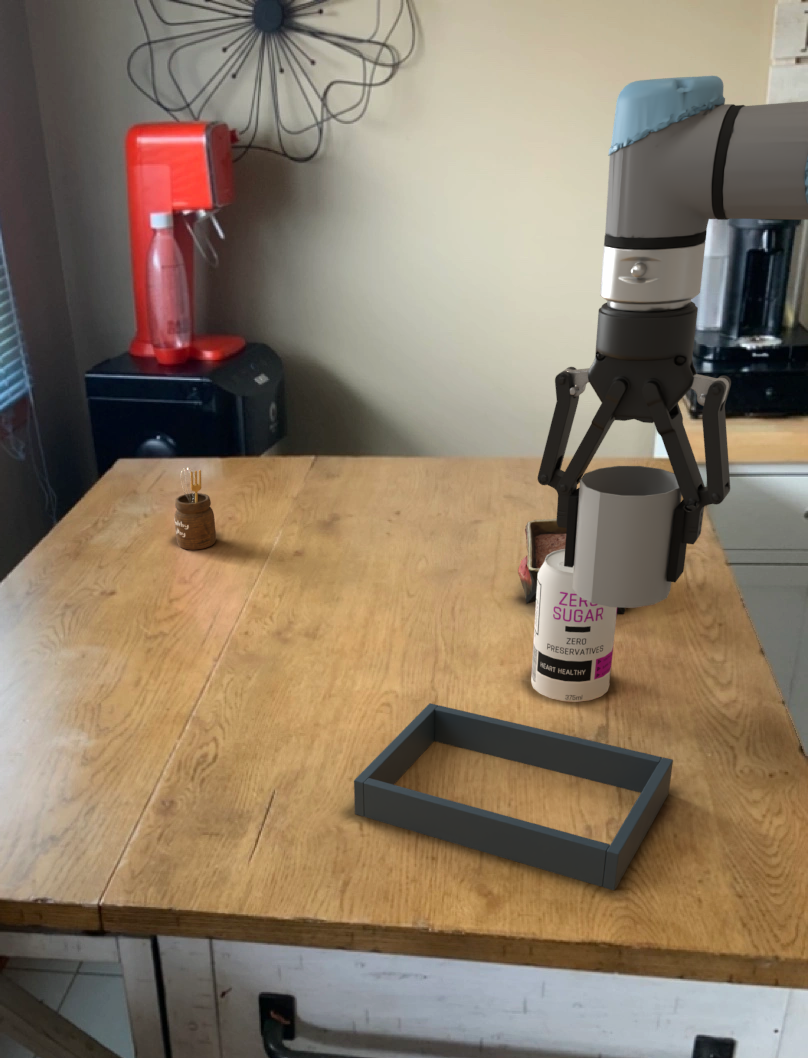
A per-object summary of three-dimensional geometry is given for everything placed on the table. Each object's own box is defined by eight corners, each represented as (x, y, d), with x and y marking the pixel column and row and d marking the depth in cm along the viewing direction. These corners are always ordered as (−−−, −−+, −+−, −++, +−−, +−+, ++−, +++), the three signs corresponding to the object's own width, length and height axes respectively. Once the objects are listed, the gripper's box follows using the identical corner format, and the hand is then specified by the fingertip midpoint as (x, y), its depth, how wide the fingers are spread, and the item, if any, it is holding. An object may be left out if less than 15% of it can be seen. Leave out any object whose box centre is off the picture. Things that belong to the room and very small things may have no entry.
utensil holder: (209, 533, 172) (202, 456, 166) (222, 546, 167) (215, 467, 161) (172, 540, 170) (163, 462, 164) (184, 554, 165) (176, 474, 159)
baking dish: (508, 629, 141) (517, 560, 135) (521, 555, 154) (530, 490, 148) (627, 643, 138) (642, 574, 132) (630, 568, 151) (644, 501, 145)
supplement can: (582, 666, 127) (592, 540, 120) (623, 698, 120) (637, 567, 113) (517, 680, 125) (524, 553, 118) (555, 714, 118) (565, 581, 111)
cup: (641, 565, 105) (651, 461, 101) (688, 598, 98) (702, 488, 94) (556, 578, 104) (563, 473, 99) (599, 613, 97) (608, 501, 92)
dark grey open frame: (667, 800, 104) (673, 759, 101) (613, 897, 92) (618, 854, 90) (429, 740, 115) (429, 702, 113) (354, 820, 104) (353, 780, 102)
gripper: (503, 305, 92) (494, 566, 103) (782, 315, 81) (738, 603, 92) (536, 289, 97) (523, 539, 108) (801, 296, 87) (757, 571, 98)
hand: (622, 568), depth 100 cm, fingers closed on cup, 8 cm apart
